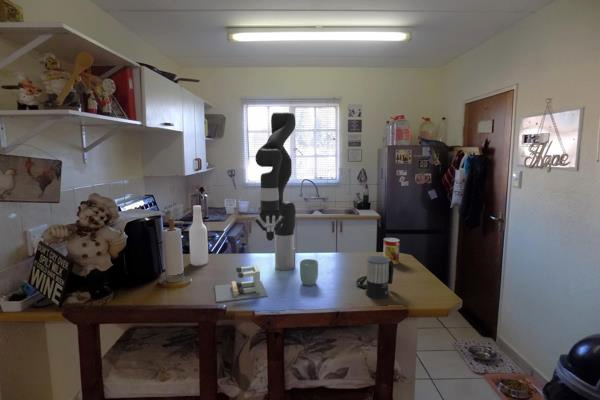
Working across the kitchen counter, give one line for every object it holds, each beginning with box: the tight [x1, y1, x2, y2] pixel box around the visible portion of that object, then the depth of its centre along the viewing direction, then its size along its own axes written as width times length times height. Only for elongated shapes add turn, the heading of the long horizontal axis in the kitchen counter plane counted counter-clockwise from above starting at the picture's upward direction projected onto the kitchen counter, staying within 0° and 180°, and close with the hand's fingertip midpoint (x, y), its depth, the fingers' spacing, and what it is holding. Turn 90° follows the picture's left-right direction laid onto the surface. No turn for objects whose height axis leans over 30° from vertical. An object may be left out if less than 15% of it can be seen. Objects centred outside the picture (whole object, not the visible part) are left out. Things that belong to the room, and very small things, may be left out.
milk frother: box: [355, 255, 395, 299], centre depth 144 cm, size 14×16×15 cm
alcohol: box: [188, 204, 209, 267], centre depth 177 cm, size 9×9×30 cm
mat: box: [214, 280, 269, 303], centre depth 143 cm, size 20×16×3 cm
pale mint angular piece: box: [235, 264, 261, 294], centre depth 144 cm, size 9×9×9 cm
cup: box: [299, 258, 319, 287], centre depth 151 cm, size 8×8×10 cm
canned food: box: [382, 237, 400, 265], centre depth 181 cm, size 8×8×12 cm
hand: (270, 240), depth 144 cm, fingers closed
